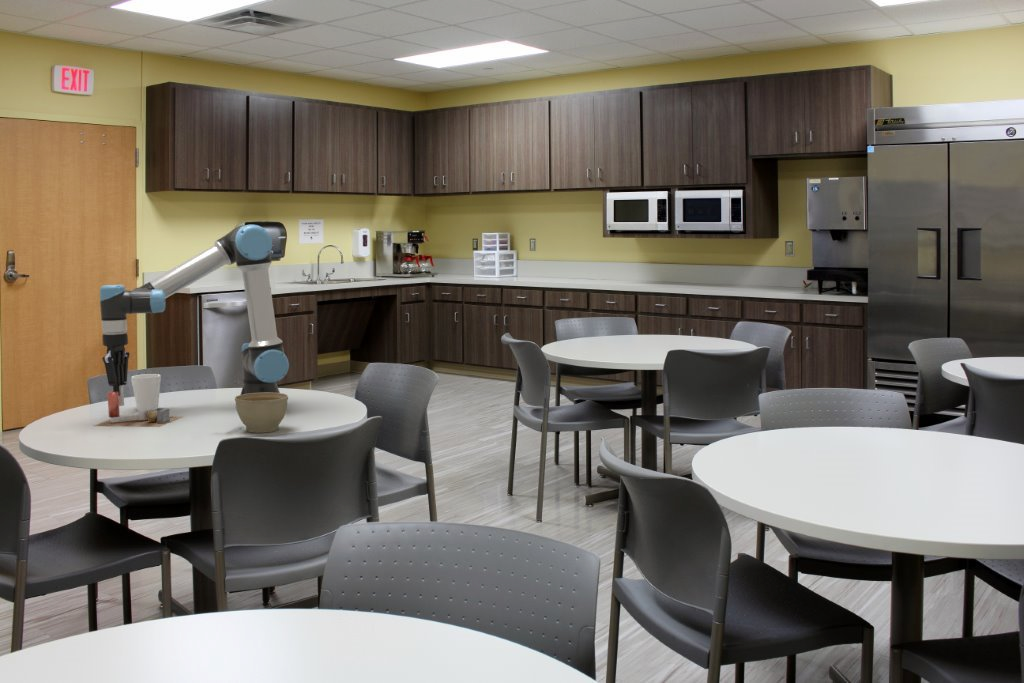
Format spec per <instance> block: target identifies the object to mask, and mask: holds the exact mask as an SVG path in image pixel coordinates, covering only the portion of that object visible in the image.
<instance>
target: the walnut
mask: <svg viewBox="0 0 1024 683" xmlns="http://www.w3.org/2000/svg"><path fill="white" fill-rule="evenodd" d="M155 411H156V410H150V411H148V415H147V419H148V421H150V422H156V421H157V412H155Z"/></svg>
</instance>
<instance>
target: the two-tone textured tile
mask: <svg viewBox="0 0 1024 683" xmlns="http://www.w3.org/2000/svg"><path fill="white" fill-rule="evenodd" d="M156 411H157V410H156ZM170 416H171V415H170V409H169V408H163V409H161V410H159V411H157V424H164V423H166V422H169V421H170Z"/></svg>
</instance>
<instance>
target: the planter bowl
mask: <svg viewBox="0 0 1024 683" xmlns="http://www.w3.org/2000/svg"><path fill="white" fill-rule="evenodd" d="M288 400H289V395H288V394H286V393H281V392H280V393H270V392H263V393H249V394H243V395H240V394H239V395H236V396H235V397H234V401H235V407H236V408H235V409H236V412H237V415H238V417H239V419H240V421H241V423H242V424H243V425H244V426H245V428H246V431H247V432H248V433H249V432H250V433H257V434H260V433H270V432H275V431H278V430H279V425H280V424H281V423H282V421H283V419H284V418H285V416H286V412H287V408H288Z"/></svg>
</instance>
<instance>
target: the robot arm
mask: <svg viewBox="0 0 1024 683" xmlns="http://www.w3.org/2000/svg"><path fill="white" fill-rule="evenodd" d="M272 247H273V239H272V237H271V234H270V232H268V231H267V230H266V229H265V228H264V227H262V226H260V225H258V224H246V225H245V224H243V225H239V226H236V227H235V228H234V229H232V230H230V231H229V232H228V233H227V234H225V235H224V236H222V237H220V238H218V239H216V240H215V241H214V244H213V246H211V247H209V248H207V249H205V250H203V251H201V252H200V253H198V254H196V255H194V256H193V257H191V258H189V259H187V260H186V261H184V262H182V263H180V264H179V265H177V266H175V267H173V268H171V269H169V270H168V271H166V272H164V273H162V274H161V275H158V276H156V277H155V278H153V279H152V280H150V281H148V282H147V283H144V284H143V285H141V286H139V287H135V288H133V289H132V290H127V289H126V287H125V285H124V284H108V285H107V284H105V285H101V287H100V288H99V305H100V306H99V307H100V317H101V318H100V319H101V323H100V325H101V332H102V333H103V334H102V335H101V336H102V345H103V346H104V347H106V355H105V356H102V362H103V363H104V369H105V373H106V379H107V383H108V386H110V387H112V390H113V391H118V395H119V407H123V406H125V396H124V394H125V393H124V392H125V391H124V385H125V386H126V385H127V382H128V372H129V371H128V369H129V368H128V367H129V358H130V354H131V353H130V351H129V352H128V351H126V347H125V346H128V344H129V335H128V333H127V332H128V321H127V319H128V318H127V315H131V314H132V315H133V314H157V313H163V312H165V310H166V299H167V298H169V297H170V296H172V295H174V294H176V293H178V292H180V291H181V290H183V289H184V288H186V287H188V286H191V285H192V284H194V283H196V282H197V281H200V280H201V279H202V278H204V277H206V276H208V275H210V274H211V273H213V272H215V271H217V270H218V269H220V268H222V267H224V266H226V265H227V266H231V265H233V264H235V265H236V267H237V268H238V269H239V270H241V272H242V279H243V287H244V294H245V300H246V302H245V303H246V308H247V314H248V323H249V329H250V336H251V341H250V342H244V343H243V344H242V345H241V351H240V352H241V353H240V354H241V362H242V363H241V365H242V367H241V368H242V388H241V390H240V391H241V392H240V394H239V395H243V394H249V393H263V392H270V393H281V392H280V389H279V387H278V383H277V382H280V381H281V380H283V379H284V378H285V376H286V375H287V373H288V372H289V368H290V363H289V359H288V357H287V355H286V354H285V349H284V342H283V340H282V339H281V338H280V337H278V332H277V325H276V324H277V323H276V317H275V309H274V302H273V296H272V288H271V282H270V275H269V267H270V266H271V265H272V262H273V261H272V255H271V252H272Z"/></svg>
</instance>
